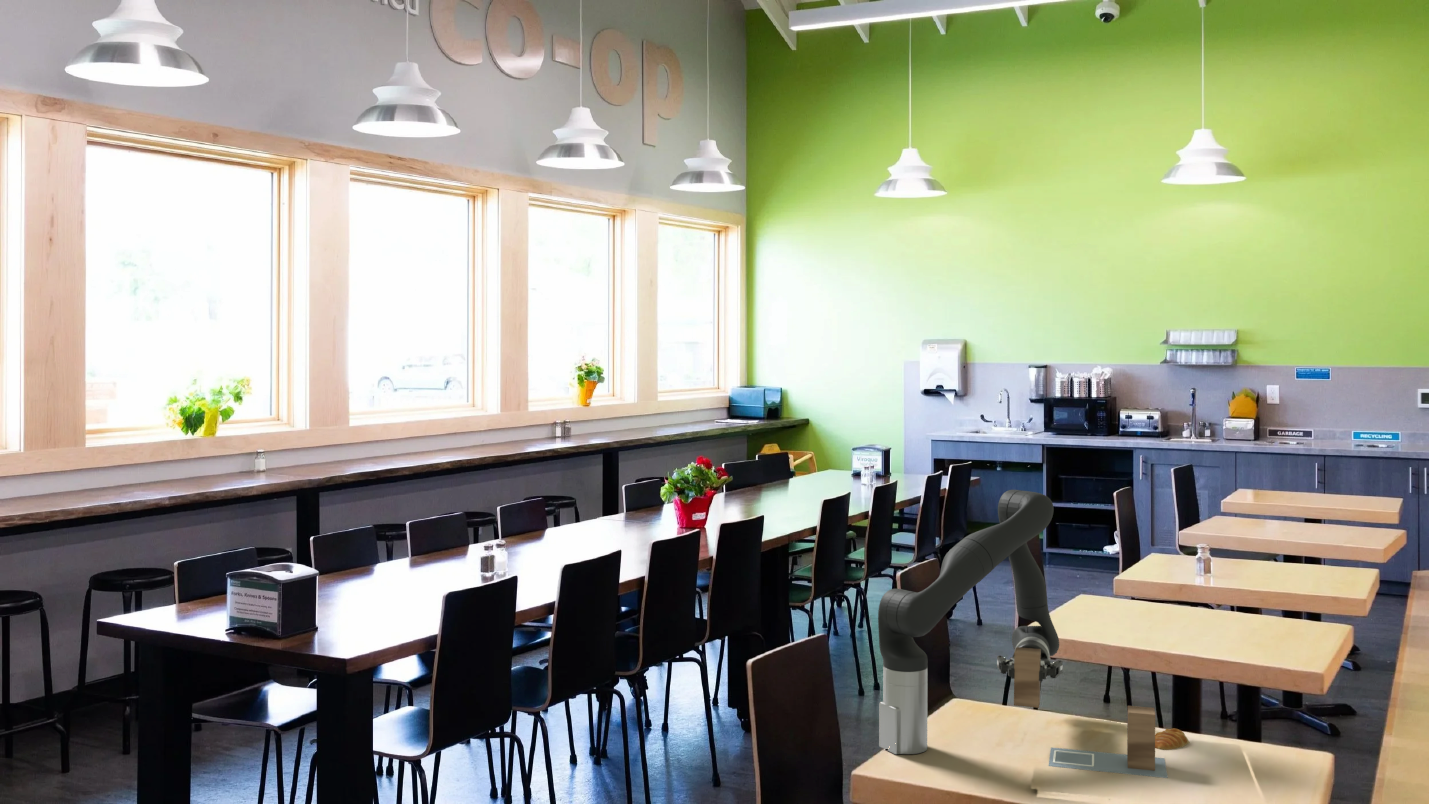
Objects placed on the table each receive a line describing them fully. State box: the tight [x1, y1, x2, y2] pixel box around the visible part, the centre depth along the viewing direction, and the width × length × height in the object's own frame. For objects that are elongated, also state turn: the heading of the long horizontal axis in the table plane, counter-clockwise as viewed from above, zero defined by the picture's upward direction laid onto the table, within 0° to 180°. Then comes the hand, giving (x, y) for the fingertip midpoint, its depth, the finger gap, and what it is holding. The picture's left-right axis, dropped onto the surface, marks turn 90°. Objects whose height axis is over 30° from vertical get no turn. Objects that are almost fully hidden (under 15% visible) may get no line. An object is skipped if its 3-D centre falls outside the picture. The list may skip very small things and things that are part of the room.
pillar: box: [1013, 647, 1041, 709], centre depth 240 cm, size 5×5×11 cm
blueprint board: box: [1048, 747, 1168, 779], centre depth 231 cm, size 12×22×1 cm, turn 72°
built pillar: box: [1126, 705, 1156, 771], centre depth 228 cm, size 5×5×11 cm
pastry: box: [1155, 727, 1191, 751], centre depth 242 cm, size 9×7×4 cm
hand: (1026, 675), depth 237 cm, fingers closed on pillar, 5 cm apart
